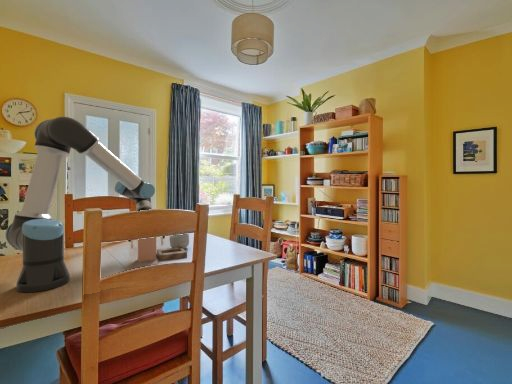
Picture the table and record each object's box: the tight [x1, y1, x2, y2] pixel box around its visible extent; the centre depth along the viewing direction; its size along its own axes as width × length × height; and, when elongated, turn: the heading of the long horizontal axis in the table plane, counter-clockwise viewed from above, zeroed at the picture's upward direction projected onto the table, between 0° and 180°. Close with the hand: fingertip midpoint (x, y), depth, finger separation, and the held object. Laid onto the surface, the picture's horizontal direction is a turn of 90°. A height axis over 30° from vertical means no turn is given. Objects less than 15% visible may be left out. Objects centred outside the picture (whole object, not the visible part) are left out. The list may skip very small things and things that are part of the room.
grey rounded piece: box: [169, 233, 190, 250], centre depth 150 cm, size 14×11×8 cm
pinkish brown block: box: [137, 236, 157, 263], centre depth 127 cm, size 8×4×15 cm, turn 118°
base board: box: [156, 247, 188, 261], centre depth 134 cm, size 13×12×2 cm
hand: (147, 245), depth 125 cm, fingers open, 13 cm apart
